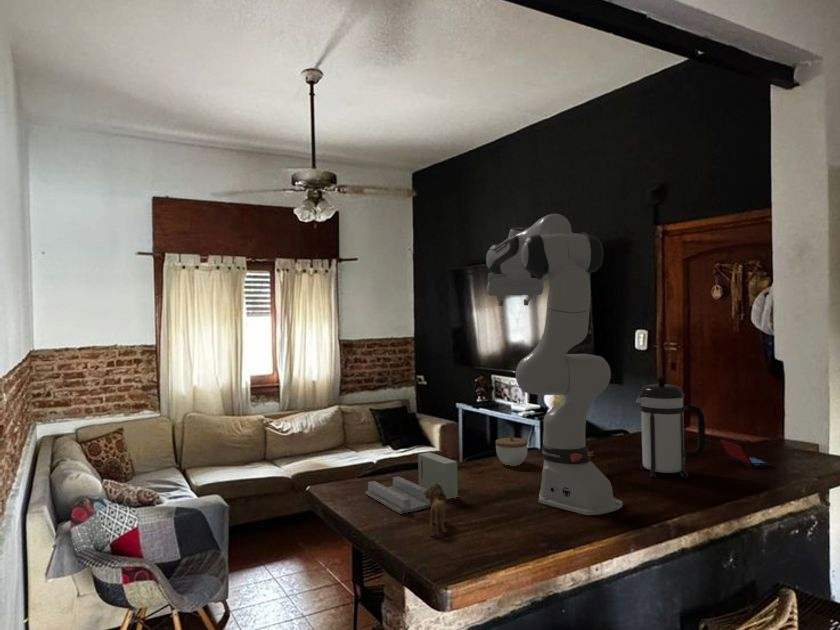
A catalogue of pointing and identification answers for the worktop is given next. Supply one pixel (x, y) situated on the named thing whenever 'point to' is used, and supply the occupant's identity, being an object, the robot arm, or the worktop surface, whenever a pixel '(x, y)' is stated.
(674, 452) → the coffee press
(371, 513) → the worktop surface
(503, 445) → the lidded jar
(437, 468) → the door panel
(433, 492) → the lion figurine
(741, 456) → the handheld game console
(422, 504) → the bottom track
